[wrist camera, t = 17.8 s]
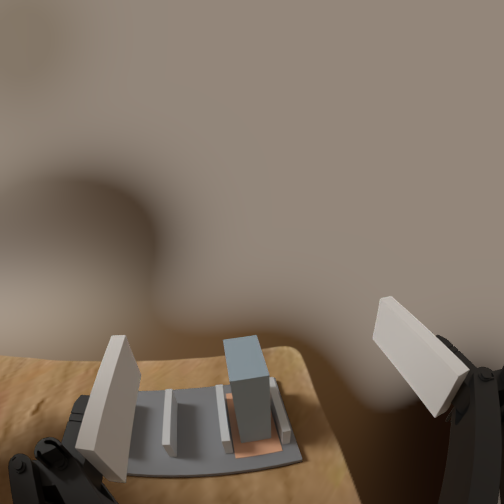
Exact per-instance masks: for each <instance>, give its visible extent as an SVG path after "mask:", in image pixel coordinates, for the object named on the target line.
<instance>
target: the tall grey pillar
mask: <svg viewBox="0 0 504 504" xmlns="http://www.w3.org/2000/svg"><path fill="white" fill-rule="evenodd" d="M223 341H224V348H225V355H226V361H227V368H228V374H229V380H230V386H231V392H232V397H233V403H234V408H235V414H236V419H237V424H238V429H239V434H240V440H241V443H245V442H252V441H258V440H263V439H269V438H271V410H270V379H269V373H268V369H267V366H266V363H265V360H264V357H263V354H262V351H261V348H260V345H259V342H258V338H257V335H254V336H247V337H241V338H234V339H226V340H223Z"/></svg>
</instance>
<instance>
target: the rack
mask: <svg viewBox="0 0 504 504" xmlns="http://www.w3.org/2000/svg"><path fill="white" fill-rule="evenodd" d="M269 379H270V410H271V438H269V439H263V440H258V441H252V442H245V443H241V440H240V434H239V429H238V424H237V419H236V414H235V408H234V403H233V397H232V392H231V386H230V385H222V384H221V385H215V386H213V387H204V388H192V389H179V390H172V389H166V390H161V391H138V395H137V401H136V407H135V413H134V420H133V426H132V433H131V441H130V449H129V457H128V466H127V475H130V476H143V477H203V476H217V475H228V474H237V473H245V472H252V471H258V470H264V469H270V468H275V467H280V466H285V465H290V464H294V463H298V462H302V456H301V453H300V450H299V448H298V445H297V442H296V439H295V436H294V433H293V430H292V427H291V424H290V421H289V418H288V415H287V412H286V409H285V406H284V403H283V401H282V398H281V395H280V392H279V389H278V385H277V382H276V379H275V378H273V377H269Z"/></svg>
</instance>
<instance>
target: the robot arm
mask: <svg viewBox="0 0 504 504" xmlns="http://www.w3.org/2000/svg"><path fill="white" fill-rule="evenodd" d="M372 339H373V340H374V341H375V342H376V344H377V345H378V346H379V347H380V349H381V350H382V351H383V352H384V354H385V355H386V356H387V357H388V358H389V360H390V361H391V362H392V363H393V365H394V366H395V367H396V368H397V370H398V371H399V372H400V373H401V375H402V376H403V377H404V379H405V380H406V381H407V382H408V384H409V385H410V386H411V387H412V389H413V390H414V391H415V393H416V394H417V395H418V396H419V398H420V399H421V400H422V402H423V403H424V404H425V406H426V407H427V408H428V409H429V411H430V412H431V413H432V415H433V416H434V417H437V416H439V415H440V414H442V413H444V412H445V411H446V410H447V409H448V407H449V406H450V404H451V403H452V404H453V405H454V408H453V409H452V411H451V412H450V414H449V415H448V417H447V419H446V422H448V420H449V419H450V417H451V416H452V419H451V421H450V422H451V432H450V441H449V449H448V456H447V463H446V469H445V475H444V480H443V484H442V490H441V493H440V498H439V502H438V504H497V503H498V496H499V488H500V499H501V504H504V366H503V368H502V369H500V370H497V371H492V370H491V369H489V368H486V367H479V368H476V367H475V366H474V365H473V364H472V363H471V362H470V361H469V360H468V359H467V358H466V357H465V356H464V355H463V354H462V353H461V352H460V351H458V349H457V348H456V347H455V346H454V347H453V345H452V344H451V343H450V342H449V341H448V340H447V339H445V338H443V337H441V336H440V335H437V336H435V335H434V334H433V333H431V332H430V331H429V330H428V329H427V328H426V327H425V326H424V325H423V324H422V323H421V322H420V321H419V320H417V319H416V318H415V317H414V316H413V315H412V314H411V313H410V312H409V311H408V310H407V309H405V308H404V307H403V306H402V305H401V304H400V303H398V302H397V301H396V300H395V299H394V298H393V297H392V296H389V297H385V298H380V302H379V308H378V313H377V318H376V324H375V328H374V333H373V338H372ZM140 379H141V373H140V371H139V368H138V366H137V363H136V361H135V358H134V356H133V353H132V351H131V348H130V345H129V343H128V340H127V337H126V335H116V336H112V337H111V339H110V342H109V344H108V347H107V349H106V352H105V355H104V357H103V360H102V363H101V365H100V368H99V371H98V374H97V377H96V380H95V382H94V385H93V388H92V391H91V394H90V396H89V395H81V396H80V397H79V398H78V399H77V400H76V402H75V403H74V405H73V408H72V411H71V414H70V417H69V422H68V423H67V426H66V429H65V433H64V436H63V439H62V443H61V442H60V441H59V440H57V439H55V438H52V437H47V438H43V439H42V440H40V441H39V442H38V443H37V445H36V446H35V451H34V454H35V458H36V459H37V460H31V459H30V458H29V457H28V456H26V455H24V454H16V455H14V456H13V457H12V458H11V459H10V461H9V466H8V469H9V478H10V486H11V493H12V499H13V504H118V502H117V501H116V500H115V499H114V497H113V496H112V495H111V493H110V492H109V491H108V489H107V488H106V487H105V485H104V484H103V483H102V477H103V476H104V477H105V478H106V479H107V480H108V481H113V482H121V483H126V476H127V466H128V457H129V449H130V441H131V433H132V426H133V420H134V413H135V407H136V401H137V395H138V390H139V384H140Z"/></svg>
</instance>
